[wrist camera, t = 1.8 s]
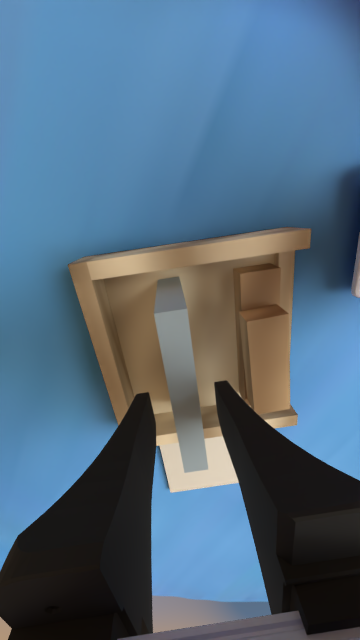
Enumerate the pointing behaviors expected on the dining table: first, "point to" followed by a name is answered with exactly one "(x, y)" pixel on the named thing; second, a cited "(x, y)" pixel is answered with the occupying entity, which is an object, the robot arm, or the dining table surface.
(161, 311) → the sheet
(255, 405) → the offcut upper
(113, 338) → the wooden tray
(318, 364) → the dining table surface
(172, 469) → the mat
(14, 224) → the dining table surface
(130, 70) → the dining table surface
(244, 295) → the offcut lower
